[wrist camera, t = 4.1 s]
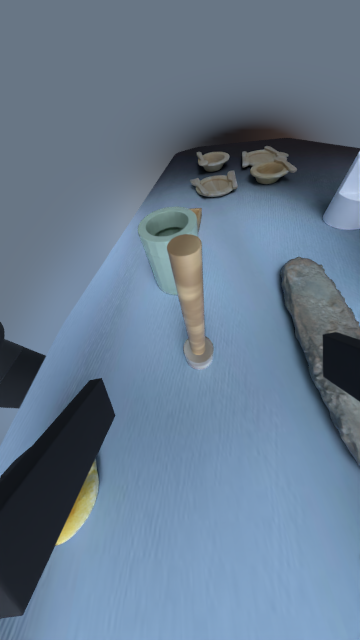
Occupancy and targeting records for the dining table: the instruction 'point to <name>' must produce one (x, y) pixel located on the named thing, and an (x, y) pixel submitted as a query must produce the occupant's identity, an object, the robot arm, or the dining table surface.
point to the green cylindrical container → (165, 240)
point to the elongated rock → (310, 324)
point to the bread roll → (81, 505)
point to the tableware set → (264, 163)
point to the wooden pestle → (191, 297)
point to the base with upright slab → (346, 201)
